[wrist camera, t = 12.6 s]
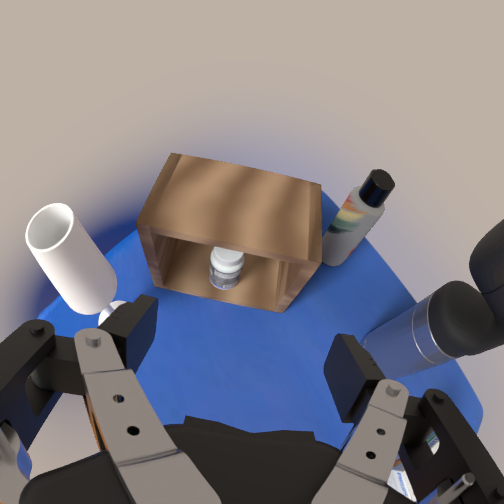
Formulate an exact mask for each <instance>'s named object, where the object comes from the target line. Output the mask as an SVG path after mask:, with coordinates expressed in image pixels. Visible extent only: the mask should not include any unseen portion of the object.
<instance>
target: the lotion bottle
mask: <svg viewBox="0 0 504 504" xmlns="http://www.w3.org/2000/svg"><path fill="white" fill-rule="evenodd" d="M394 187H395V183H394V181H393V179H392V178H391V176H390V175H389V174H388V173H387V172H386V171H384V170H381V169H377V170H372V171H371V173H370V174H369V176H368V177H367V179H366V180H365V182H364V183H363V185H362V186H358V187H355V188H354V189H353V190H352V191H351V193H350V195H349V196H348V198H347V199H346V201H345V202H344V204H343V206H342V207H341V209H340V210H339V212H338V214H337V215H336V217H335V219H334V220H333V222H332V223H331V225H330V226H329V228H328V230H327V231H326V233H325V234H324V236H323V237H322V262H324V263H325V264H327V265H329V266H338V265H340V264H342V263H343V262H344V261H345V260H346V259H347V257H348V256H349V255H350V254H351V253H352V251H353V250H354V249H355V248H356V247H357V245H358V244H359V243H360V242H361V241H362V239H363V238H364V237H365V236H366V234H367V233H368V232H369V231H370V229H371V228H372V227H373V226H374V224H375V223H376V222H377V221H378V219H379V218H380V217H381V215H382V214H383V212H384V201H385V200H386V198H387V197H388V195H389V194H390V193H391V191H392V190H393V188H394Z"/></svg>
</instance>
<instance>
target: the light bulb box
mask: <svg viewBox="0 0 504 504" xmlns="http://www.w3.org/2000/svg"><path fill="white" fill-rule="evenodd" d="M426 441H427V443H428V445H429V447H430V448H431V450H432V452H433V454H435V452H436V451H437V450H438V448H439V439H438V437H437V436H436V434H435V432H434V431H433V432H432V433H431V434H430V436H429V437H428V438H427V440H426ZM387 484H388V485H389V486H391V487H392V488H394V489H395V490H397V491H398V492H400V493H401V494H403V495H404V496H406V497H407V498H409V499H411V500H412V501H414V502H415V501H416V497H415V495H414V492H413V490H412V487H411V484H410V482H409V479H408V477H407V474H406V472H405V469H404V467H403V465H402V462H401V460H400V457H399V455H398V454H397V457H396V460H395V463H394V465H393V468H392V471H391V474H390V476H389V479H388V482H387Z"/></svg>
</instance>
